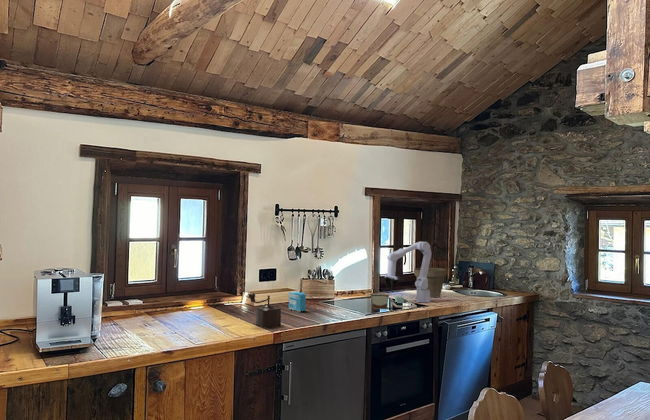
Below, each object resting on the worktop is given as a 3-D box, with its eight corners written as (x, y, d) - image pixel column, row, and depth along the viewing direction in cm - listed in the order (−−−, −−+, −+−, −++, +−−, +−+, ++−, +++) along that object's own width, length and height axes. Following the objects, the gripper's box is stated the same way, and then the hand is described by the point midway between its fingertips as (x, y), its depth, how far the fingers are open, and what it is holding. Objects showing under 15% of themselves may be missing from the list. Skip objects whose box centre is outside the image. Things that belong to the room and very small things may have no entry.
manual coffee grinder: (271, 322, 270) (271, 290, 271) (281, 325, 261) (281, 293, 262) (246, 325, 261) (247, 292, 262) (256, 329, 252) (256, 295, 253)
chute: (407, 301, 350) (407, 299, 350) (416, 307, 323) (416, 305, 323) (388, 301, 348) (388, 299, 348) (396, 307, 322) (396, 305, 322)
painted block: (401, 301, 348) (401, 296, 348) (403, 303, 341) (403, 297, 341) (395, 301, 347) (395, 296, 347) (396, 303, 340) (396, 297, 340)
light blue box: (288, 310, 308) (288, 291, 309) (293, 309, 311) (294, 291, 312) (300, 312, 300) (300, 293, 300) (305, 312, 303) (305, 293, 303)
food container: (388, 307, 321) (389, 292, 321) (389, 309, 315) (389, 294, 315) (370, 307, 322) (370, 292, 323) (370, 308, 316) (370, 293, 317)
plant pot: (413, 298, 364) (413, 269, 365) (414, 293, 388) (414, 267, 389) (446, 299, 358) (446, 270, 359) (445, 294, 383) (445, 268, 383)
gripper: (381, 268, 348) (380, 286, 347) (392, 270, 334) (390, 289, 334) (390, 268, 350) (388, 287, 350) (400, 270, 337) (399, 290, 336)
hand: (390, 288), depth 342 cm, fingers open, 7 cm apart
